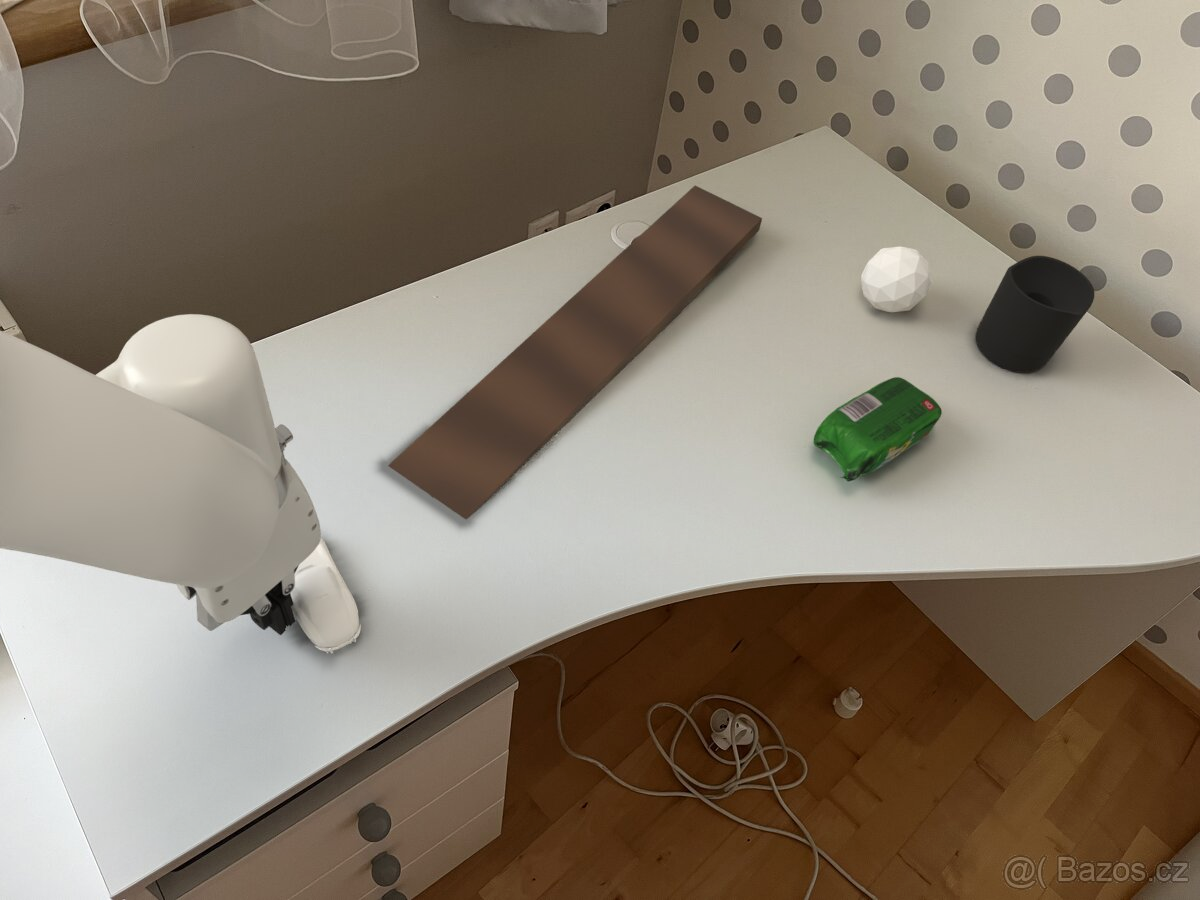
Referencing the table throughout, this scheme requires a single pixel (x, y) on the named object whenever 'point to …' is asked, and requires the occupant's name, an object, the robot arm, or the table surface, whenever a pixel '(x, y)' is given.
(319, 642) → the toy car
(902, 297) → the geometric ball
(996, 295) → the pen holder
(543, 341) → the ramp
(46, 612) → the table surface
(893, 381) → the snack package
